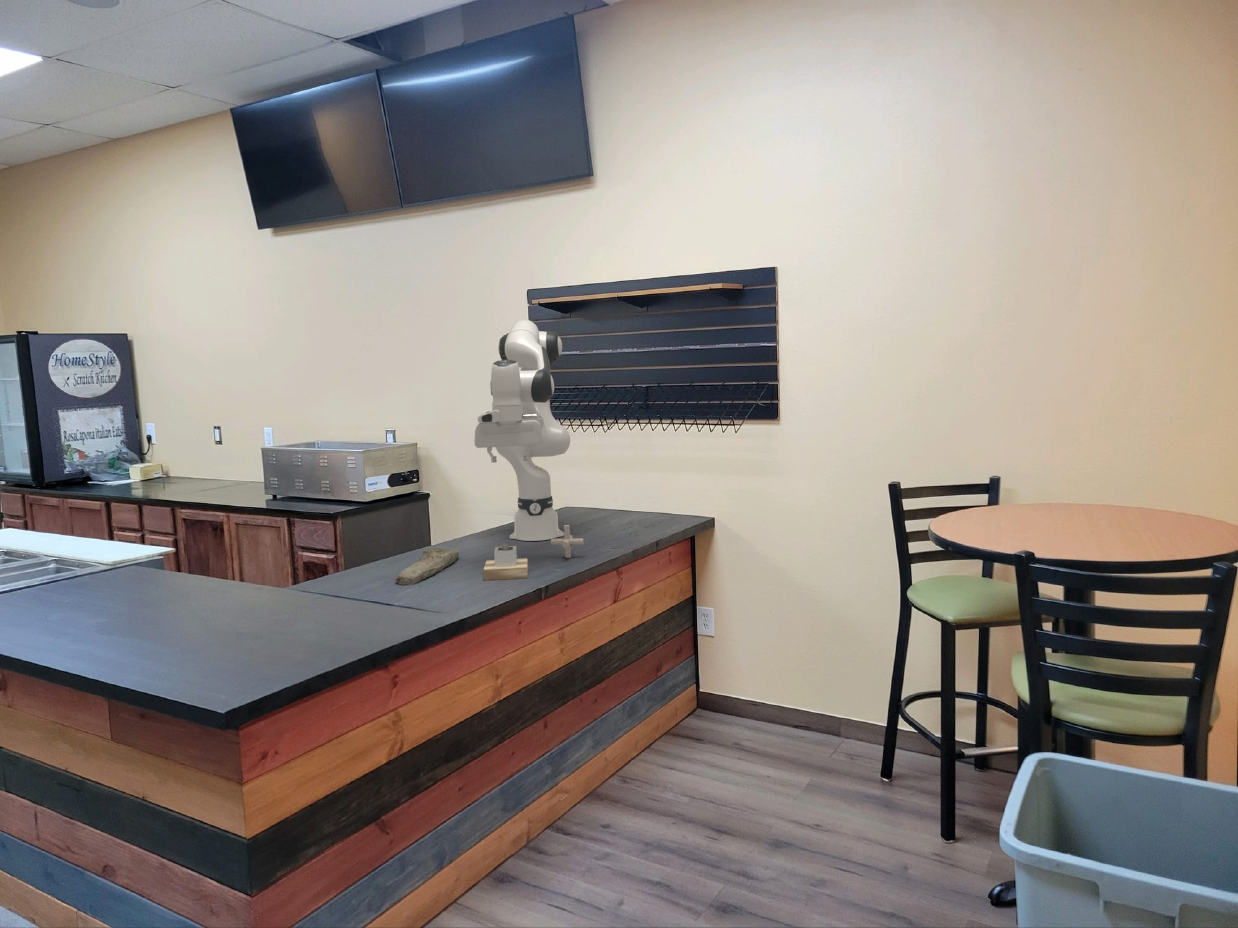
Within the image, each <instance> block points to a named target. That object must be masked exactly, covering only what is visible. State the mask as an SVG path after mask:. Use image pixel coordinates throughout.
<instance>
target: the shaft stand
mask: <svg viewBox="0 0 1238 928" xmlns="http://www.w3.org/2000/svg"><path fill="white" fill-rule="evenodd" d="M508 546H509V544H507V543H506V544H502V545H501V547H502V550H509V548H508ZM528 573H529V561H528V557H520V558H518V557H517V564H516V566H500V567H495V559H486V561H485V564H484V567H483V580H484V581H497V580H499V579H500V580H512V579H513V580H516V579H528Z"/></svg>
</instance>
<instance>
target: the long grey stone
mask: <svg viewBox="0 0 1238 928" xmlns="http://www.w3.org/2000/svg"><path fill="white" fill-rule="evenodd" d="M459 557H460V552H459V550H458V549H456V548H440V547H436V546H434V547H433V548H429V547H427V548H424V549H423V551H422V556H420V558H419V560H418V561H417V562H414V563H412V564H411V565H409V566H408V567H405V569H402V570H401V571H399V572H397V573H396V575H397V576H396V577H395V582H397V584H398V585H400V584H401V585H400V586H410V585H409V584H412V585H415V583H416V584H417V583H419V582H421V581H423V580H426V579H428V578H430V576H431V577H432V576H434V575H435V574H437V572H438V573H439V572H442V571H443V569H445V568H447V567H449V566H450V565H451V564H453V563H455V562H456V561H457V559H458V558H459ZM427 577H428V578H427Z"/></svg>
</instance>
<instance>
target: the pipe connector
mask: <svg viewBox="0 0 1238 928" xmlns="http://www.w3.org/2000/svg"><path fill="white" fill-rule="evenodd" d="M570 528H571V525H570V524H564V525H563V533H564V536H563V538H553V539H550V545H553V546H555V545H561V546H562V548H564V559H570V558H572V555H571V553H572V550H571V545H584V544H585V540H584V538H582V537H581V538H574V537H573V535H571V529H570Z"/></svg>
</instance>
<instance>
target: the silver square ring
mask: <svg viewBox="0 0 1238 928" xmlns="http://www.w3.org/2000/svg"><path fill="white" fill-rule="evenodd" d="M508 548H509V550H502V546H495V548H494V551H493V552H494V560H495V567H500V566H516V564H517V558H518V553H517V545H511V546H509V545H508Z"/></svg>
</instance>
